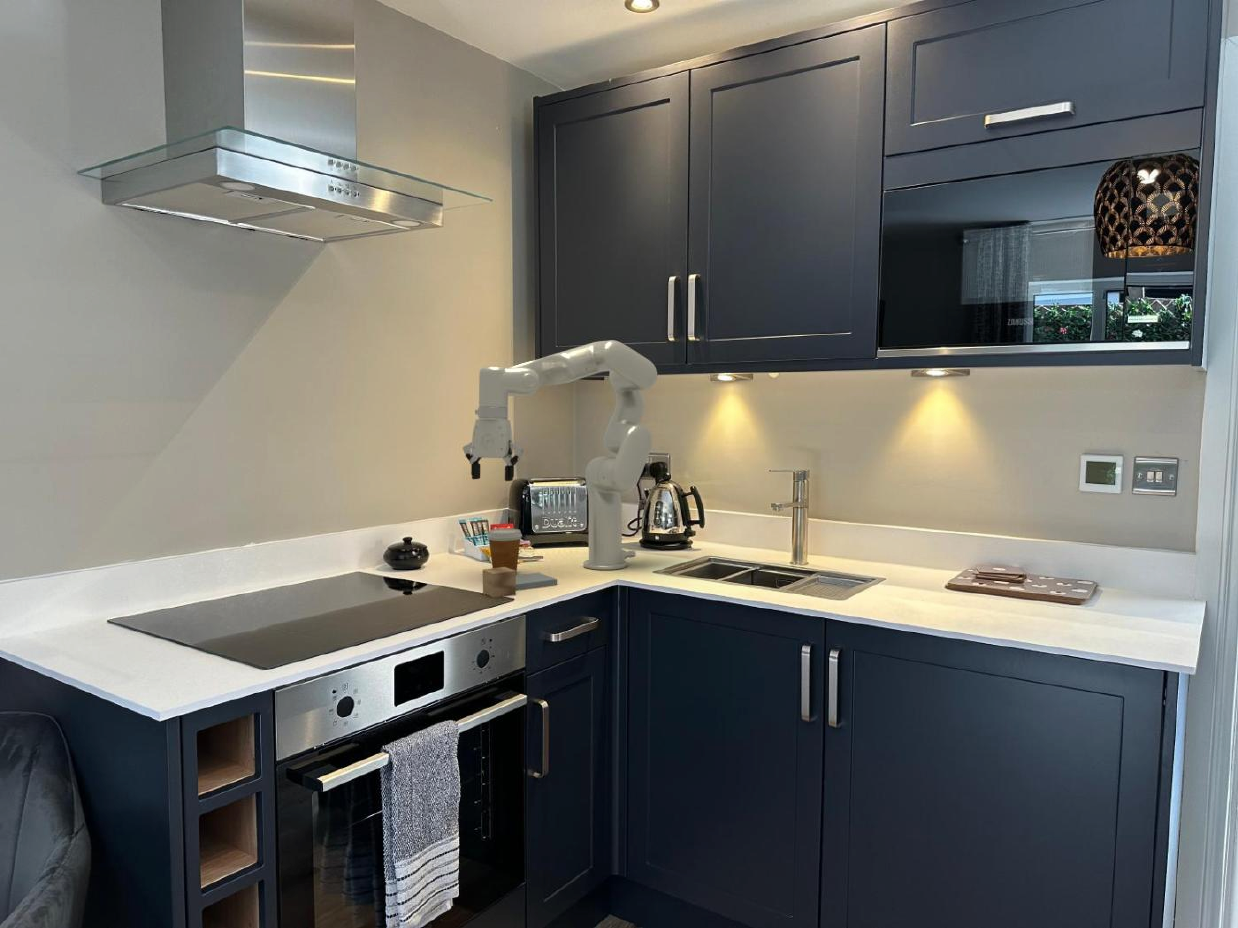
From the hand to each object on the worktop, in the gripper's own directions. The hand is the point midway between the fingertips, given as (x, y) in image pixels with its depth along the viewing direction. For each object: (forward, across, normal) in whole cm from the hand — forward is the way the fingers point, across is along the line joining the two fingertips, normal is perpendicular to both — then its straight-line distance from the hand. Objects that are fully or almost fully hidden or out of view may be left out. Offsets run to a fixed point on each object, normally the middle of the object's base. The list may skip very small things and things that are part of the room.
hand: (492, 479), depth 218 cm
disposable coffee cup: (+27, -1, +10) cm, 29 cm away
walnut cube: (+27, +9, -12) cm, 31 cm away
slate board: (+27, +11, 0) cm, 29 cm away
